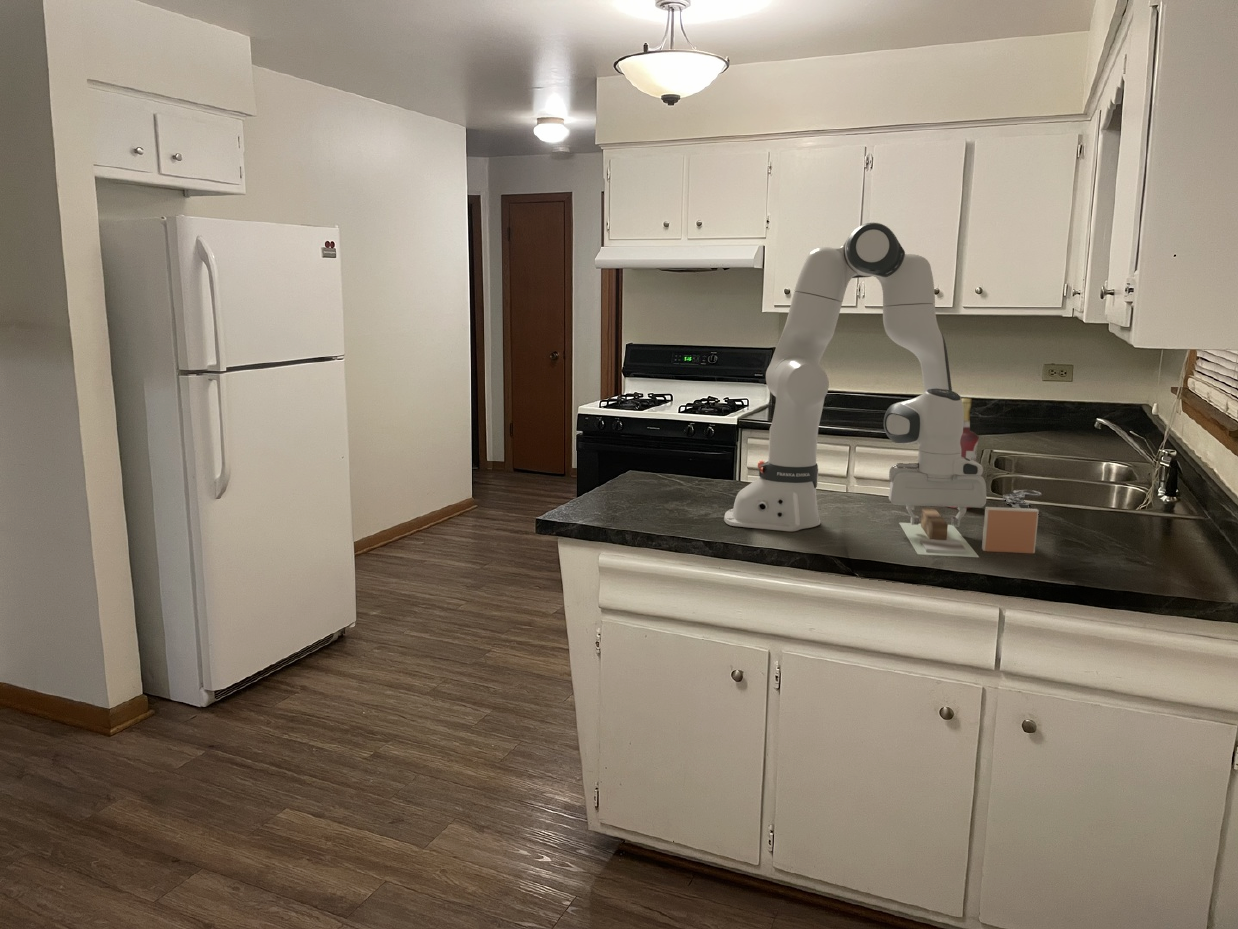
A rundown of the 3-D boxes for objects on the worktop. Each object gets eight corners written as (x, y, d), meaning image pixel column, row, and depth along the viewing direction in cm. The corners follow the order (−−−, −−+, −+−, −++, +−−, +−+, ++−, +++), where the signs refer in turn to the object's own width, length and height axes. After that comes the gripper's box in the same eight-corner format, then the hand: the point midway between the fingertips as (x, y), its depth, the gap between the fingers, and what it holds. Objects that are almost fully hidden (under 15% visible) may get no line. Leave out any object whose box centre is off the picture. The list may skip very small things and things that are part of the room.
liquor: (970, 514, 220) (979, 401, 214) (939, 511, 223) (947, 399, 218) (974, 508, 226) (983, 398, 221) (944, 505, 229) (952, 396, 224)
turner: (909, 525, 205) (910, 508, 205) (945, 526, 204) (946, 509, 203) (926, 551, 184) (927, 533, 183) (966, 553, 183) (968, 535, 182)
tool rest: (917, 558, 183) (917, 554, 182) (898, 526, 208) (899, 522, 208) (979, 561, 181) (979, 557, 181) (952, 529, 206) (952, 525, 206)
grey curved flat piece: (1041, 512, 218) (997, 506, 223) (1040, 519, 219) (996, 512, 223) (1047, 491, 243) (1007, 486, 247) (1046, 497, 243) (1006, 491, 248)
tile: (983, 555, 185) (987, 508, 183) (981, 553, 187) (985, 506, 185) (1034, 558, 184) (1038, 510, 182) (1031, 555, 185) (1036, 508, 184)
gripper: (892, 465, 194) (888, 527, 196) (990, 467, 191) (986, 530, 193) (887, 460, 200) (884, 520, 202) (983, 462, 197) (978, 523, 200)
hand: (934, 525), depth 198 cm, fingers open, 7 cm apart
